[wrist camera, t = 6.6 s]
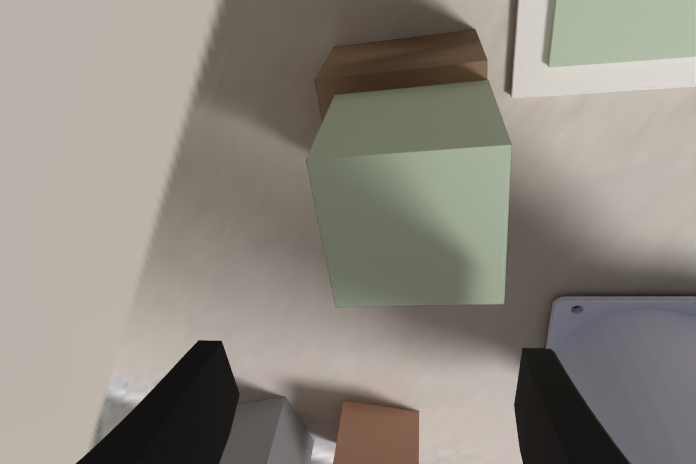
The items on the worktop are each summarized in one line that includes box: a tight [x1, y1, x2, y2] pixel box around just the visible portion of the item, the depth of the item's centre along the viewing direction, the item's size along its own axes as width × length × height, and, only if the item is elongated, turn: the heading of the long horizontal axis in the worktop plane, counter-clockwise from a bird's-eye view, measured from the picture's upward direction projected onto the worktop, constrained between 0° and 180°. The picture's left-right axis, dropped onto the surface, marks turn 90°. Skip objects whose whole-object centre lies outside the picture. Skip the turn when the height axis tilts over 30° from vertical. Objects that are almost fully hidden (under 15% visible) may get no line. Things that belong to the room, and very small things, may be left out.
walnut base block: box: [315, 30, 487, 122], centre depth 17 cm, size 5×5×4 cm
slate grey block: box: [219, 397, 314, 464], centre depth 30 cm, size 4×4×4 cm
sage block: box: [306, 80, 511, 307], centre depth 14 cm, size 4×4×4 cm
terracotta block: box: [333, 401, 419, 464], centre depth 29 cm, size 4×4×4 cm
